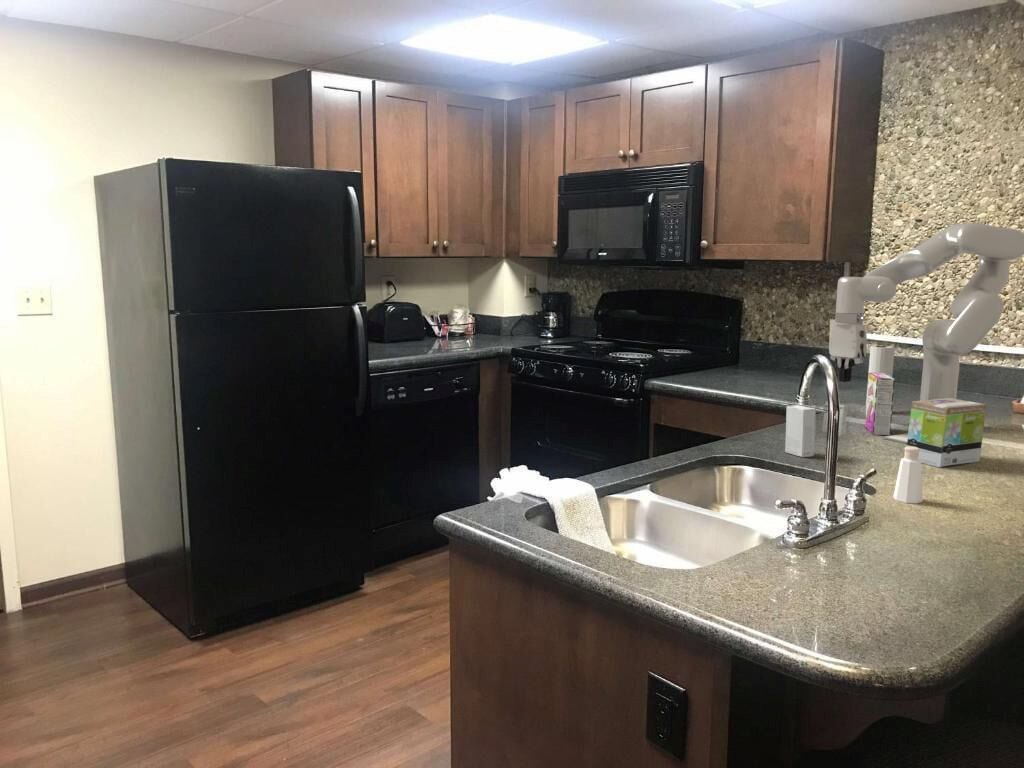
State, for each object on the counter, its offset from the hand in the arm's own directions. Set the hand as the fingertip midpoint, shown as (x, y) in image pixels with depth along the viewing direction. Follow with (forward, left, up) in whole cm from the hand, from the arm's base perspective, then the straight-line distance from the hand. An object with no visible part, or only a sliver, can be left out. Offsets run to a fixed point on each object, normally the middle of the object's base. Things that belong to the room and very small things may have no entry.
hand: (844, 381), depth 242 cm
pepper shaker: (+53, +59, -13) cm, 81 cm away
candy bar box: (0, +12, -13) cm, 18 cm away
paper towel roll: (-27, -8, -13) cm, 31 cm away
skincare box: (+42, +21, -13) cm, 49 cm away
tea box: (+15, +42, -13) cm, 46 cm away
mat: (0, +27, -13) cm, 30 cm away
